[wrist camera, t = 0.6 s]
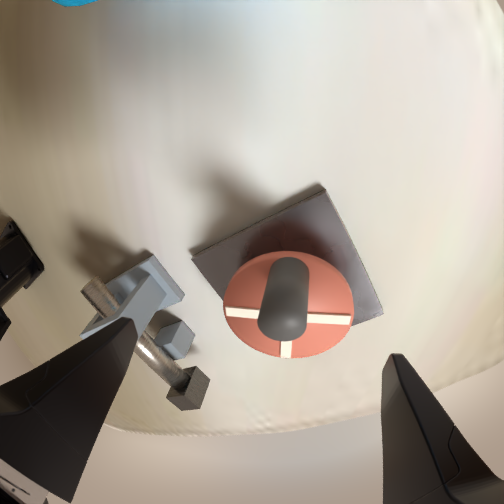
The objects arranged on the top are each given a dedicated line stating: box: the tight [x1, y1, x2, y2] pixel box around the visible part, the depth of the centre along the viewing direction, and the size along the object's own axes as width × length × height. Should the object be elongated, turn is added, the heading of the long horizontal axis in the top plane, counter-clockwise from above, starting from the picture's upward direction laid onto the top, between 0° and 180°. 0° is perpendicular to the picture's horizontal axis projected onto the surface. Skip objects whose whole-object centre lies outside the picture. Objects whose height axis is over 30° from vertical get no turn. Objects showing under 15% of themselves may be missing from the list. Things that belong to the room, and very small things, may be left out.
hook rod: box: [80, 276, 210, 411], centre depth 22 cm, size 2×13×3 cm, turn 32°
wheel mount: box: [191, 189, 384, 326], centre depth 20 cm, size 10×10×1 cm
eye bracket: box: [79, 255, 195, 360], centre depth 22 cm, size 7×8×6 cm
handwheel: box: [223, 251, 354, 358], centre depth 17 cm, size 8×8×6 cm
